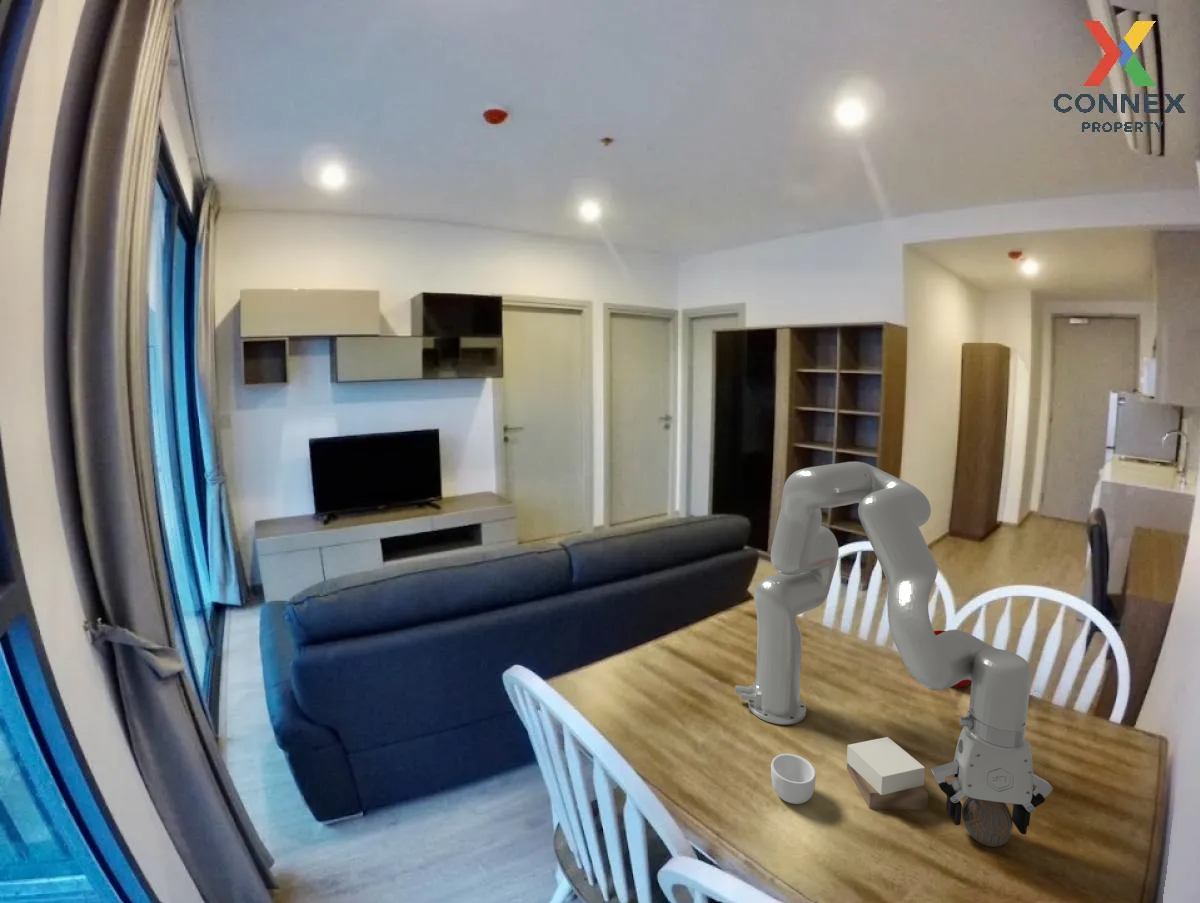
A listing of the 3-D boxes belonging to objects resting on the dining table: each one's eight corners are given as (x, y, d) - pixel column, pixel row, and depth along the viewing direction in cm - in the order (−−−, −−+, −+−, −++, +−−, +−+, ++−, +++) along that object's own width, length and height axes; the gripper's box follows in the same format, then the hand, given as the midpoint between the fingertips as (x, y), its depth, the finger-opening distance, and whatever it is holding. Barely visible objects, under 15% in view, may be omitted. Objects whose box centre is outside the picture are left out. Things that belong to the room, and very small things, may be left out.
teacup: (817, 814, 100) (819, 786, 99) (771, 807, 102) (773, 780, 101) (808, 774, 110) (810, 748, 109) (767, 769, 111) (768, 743, 111)
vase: (950, 822, 98) (954, 775, 97) (988, 819, 99) (993, 773, 97) (980, 856, 91) (985, 806, 90) (1020, 852, 92) (1026, 803, 91)
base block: (869, 810, 101) (870, 792, 101) (846, 771, 111) (847, 754, 111) (926, 811, 101) (928, 793, 101) (899, 772, 111) (900, 755, 110)
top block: (881, 795, 100) (882, 776, 100) (846, 762, 109) (847, 744, 108) (923, 785, 102) (924, 767, 102) (886, 753, 111) (887, 736, 111)
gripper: (945, 735, 90) (937, 833, 93) (1071, 749, 87) (1058, 850, 89) (928, 708, 97) (920, 799, 100) (1043, 719, 94) (1032, 813, 97)
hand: (985, 823), depth 95 cm, fingers open, 9 cm apart
